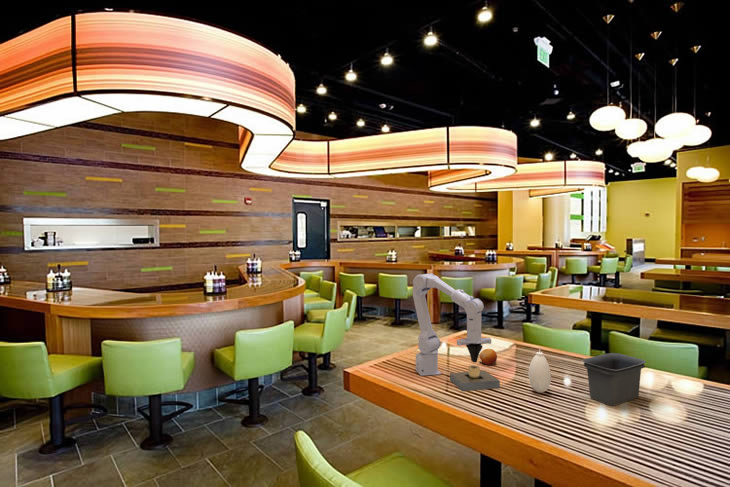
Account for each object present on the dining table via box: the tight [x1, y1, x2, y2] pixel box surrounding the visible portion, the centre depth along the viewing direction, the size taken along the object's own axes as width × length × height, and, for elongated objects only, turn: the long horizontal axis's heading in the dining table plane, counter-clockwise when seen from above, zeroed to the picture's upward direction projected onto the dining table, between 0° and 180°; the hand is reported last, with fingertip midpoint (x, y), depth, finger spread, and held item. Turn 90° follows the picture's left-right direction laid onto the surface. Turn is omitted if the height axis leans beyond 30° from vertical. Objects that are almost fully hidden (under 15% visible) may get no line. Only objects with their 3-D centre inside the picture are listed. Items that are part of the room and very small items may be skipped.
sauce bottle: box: [528, 345, 552, 394], centre depth 152 cm, size 8×8×18 cm
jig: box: [449, 370, 501, 392], centre depth 160 cm, size 16×12×3 cm
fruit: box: [478, 348, 498, 366], centre depth 187 cm, size 8×8×8 cm
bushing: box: [468, 364, 481, 380], centre depth 160 cm, size 4×4×7 cm
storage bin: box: [582, 352, 647, 407], centre depth 146 cm, size 21×16×14 cm
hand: (474, 361), depth 160 cm, fingers closed
